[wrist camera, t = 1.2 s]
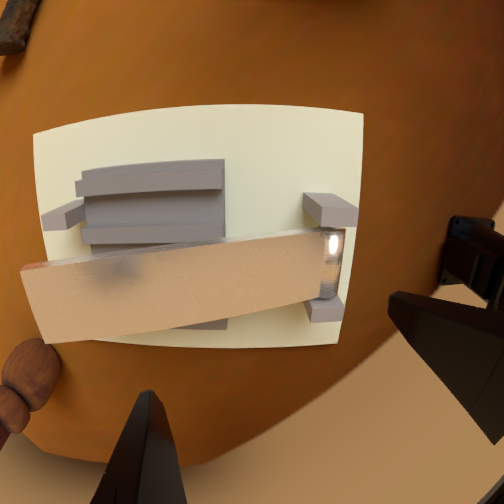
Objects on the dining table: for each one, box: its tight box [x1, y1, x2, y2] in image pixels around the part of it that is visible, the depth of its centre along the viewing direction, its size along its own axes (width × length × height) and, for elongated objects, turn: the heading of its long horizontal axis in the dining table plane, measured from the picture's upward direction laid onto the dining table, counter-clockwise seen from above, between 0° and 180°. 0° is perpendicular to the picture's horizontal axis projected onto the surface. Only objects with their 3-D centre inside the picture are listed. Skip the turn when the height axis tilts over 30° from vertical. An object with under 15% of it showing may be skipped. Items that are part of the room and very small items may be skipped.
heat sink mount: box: [33, 104, 363, 348], centre depth 17 cm, size 24×18×6 cm
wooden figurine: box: [0, 339, 61, 450], centre depth 17 cm, size 7×6×15 cm
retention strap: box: [20, 225, 346, 344], centre depth 13 cm, size 17×4×2 cm, turn 90°
